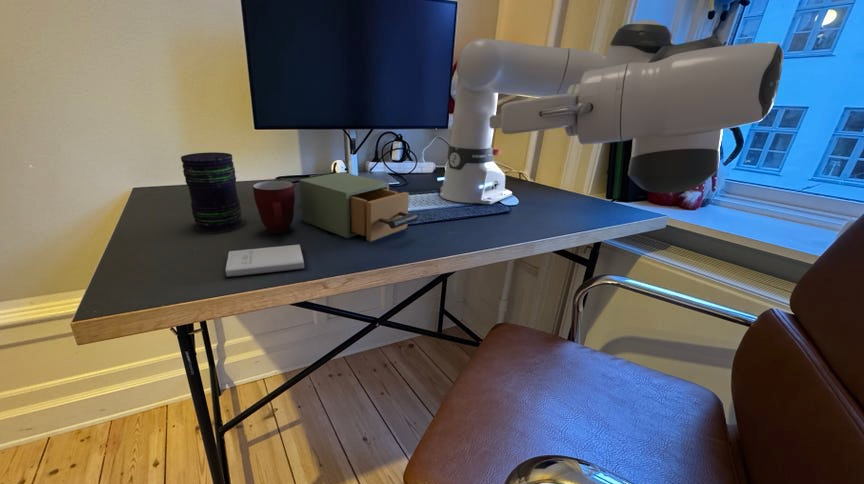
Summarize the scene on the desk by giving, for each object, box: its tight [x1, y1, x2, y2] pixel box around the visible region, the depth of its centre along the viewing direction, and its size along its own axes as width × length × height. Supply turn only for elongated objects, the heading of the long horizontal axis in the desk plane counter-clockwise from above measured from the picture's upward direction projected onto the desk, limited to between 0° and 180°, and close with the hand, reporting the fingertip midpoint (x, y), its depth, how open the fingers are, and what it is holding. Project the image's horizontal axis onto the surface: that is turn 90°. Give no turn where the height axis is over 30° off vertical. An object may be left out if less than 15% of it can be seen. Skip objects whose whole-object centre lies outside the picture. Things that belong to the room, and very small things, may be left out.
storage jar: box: [180, 151, 244, 234], centre depth 78 cm, size 10×10×15 cm
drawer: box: [349, 188, 418, 242], centre depth 77 cm, size 19×11×8 cm, turn 47°
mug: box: [252, 180, 296, 235], centre depth 76 cm, size 11×8×10 cm
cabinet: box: [298, 171, 390, 239], centre depth 83 cm, size 16×13×10 cm
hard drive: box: [225, 244, 305, 278], centre depth 64 cm, size 2×8×12 cm
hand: (493, 122), depth 55 cm, fingers closed
